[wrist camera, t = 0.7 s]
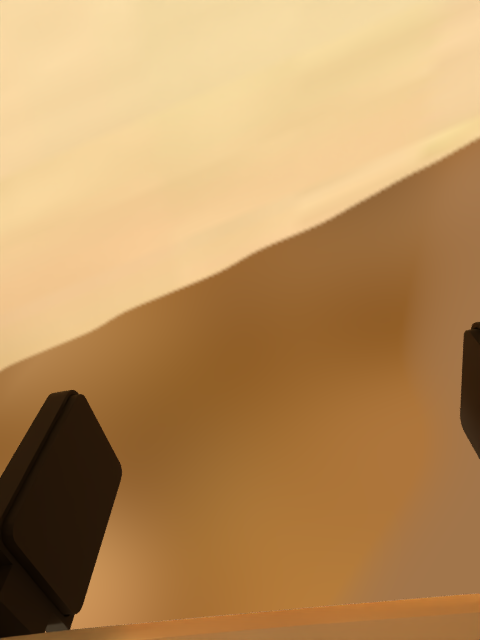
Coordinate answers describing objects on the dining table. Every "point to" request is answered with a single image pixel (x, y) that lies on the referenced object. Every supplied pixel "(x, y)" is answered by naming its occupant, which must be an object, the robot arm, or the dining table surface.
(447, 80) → the dining table surface
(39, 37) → the dining table surface
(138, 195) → the dining table surface
